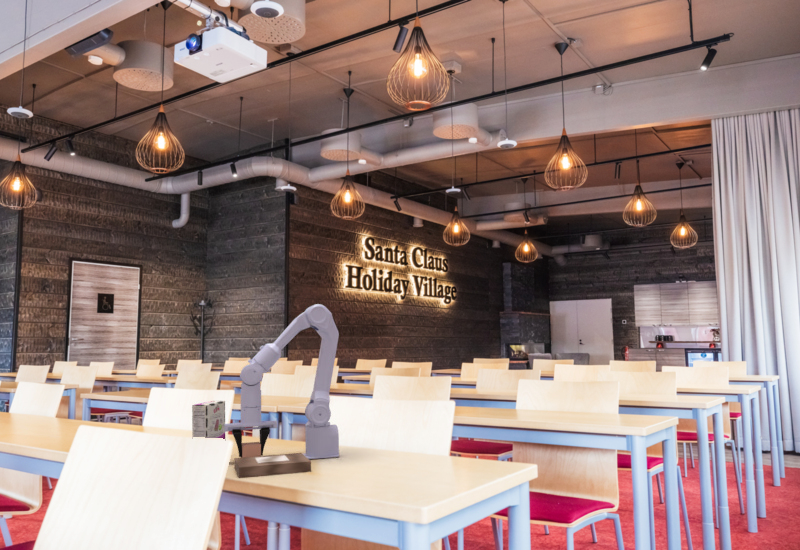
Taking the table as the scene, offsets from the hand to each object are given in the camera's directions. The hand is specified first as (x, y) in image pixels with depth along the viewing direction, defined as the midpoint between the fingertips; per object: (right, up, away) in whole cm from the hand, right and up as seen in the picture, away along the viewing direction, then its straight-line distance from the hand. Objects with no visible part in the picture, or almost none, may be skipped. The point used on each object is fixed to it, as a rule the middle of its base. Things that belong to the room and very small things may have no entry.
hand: (250, 455), depth 175 cm
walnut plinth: (+8, 0, -12) cm, 15 cm away
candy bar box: (-13, -3, +5) cm, 14 cm away
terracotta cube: (0, -2, 0) cm, 2 cm away
